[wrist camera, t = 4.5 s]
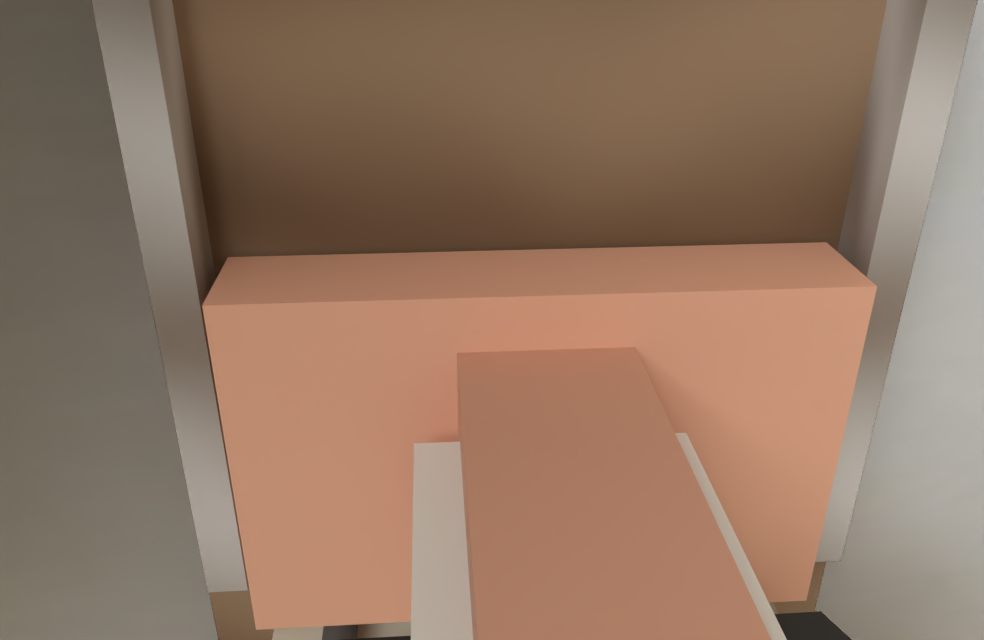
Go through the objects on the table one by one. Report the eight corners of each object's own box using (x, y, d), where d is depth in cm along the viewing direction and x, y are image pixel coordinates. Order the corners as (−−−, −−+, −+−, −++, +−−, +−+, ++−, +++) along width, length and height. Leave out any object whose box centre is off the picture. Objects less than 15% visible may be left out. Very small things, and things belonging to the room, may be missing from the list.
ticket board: (100, -133, 14) (0, -140, 10) (935, -128, 15) (1084, -134, 11) (270, 810, 25) (247, 953, 21) (745, 778, 25) (794, 910, 22)
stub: (227, 256, 15) (-127, 919, 5) (826, 241, 16) (1472, 802, 6) (272, 558, 18) (99, 1321, 9) (770, 534, 19) (1138, 1214, 9)
